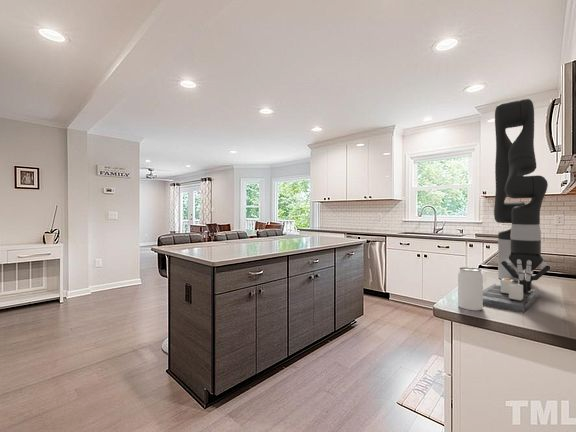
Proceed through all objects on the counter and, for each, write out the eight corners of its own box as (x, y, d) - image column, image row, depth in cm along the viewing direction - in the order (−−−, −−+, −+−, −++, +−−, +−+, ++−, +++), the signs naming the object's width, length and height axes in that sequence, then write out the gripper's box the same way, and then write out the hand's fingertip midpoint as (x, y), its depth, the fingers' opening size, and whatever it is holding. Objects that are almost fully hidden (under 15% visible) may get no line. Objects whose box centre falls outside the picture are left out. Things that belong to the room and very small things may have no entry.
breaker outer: (511, 296, 92) (511, 283, 92) (523, 298, 90) (523, 284, 90) (508, 298, 91) (508, 284, 90) (520, 300, 88) (521, 286, 88)
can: (486, 311, 86) (486, 271, 85) (462, 310, 87) (462, 270, 87) (477, 304, 92) (477, 267, 92) (454, 303, 93) (454, 266, 93)
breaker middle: (503, 290, 99) (503, 277, 99) (514, 292, 97) (513, 278, 97) (500, 292, 97) (500, 278, 97) (511, 294, 95) (511, 280, 95)
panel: (494, 288, 110) (494, 283, 110) (539, 296, 100) (539, 289, 100) (473, 302, 94) (473, 295, 94) (523, 313, 84) (523, 305, 84)
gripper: (554, 238, 91) (554, 293, 91) (503, 236, 101) (503, 286, 101) (551, 240, 86) (551, 298, 86) (497, 237, 96) (497, 290, 96)
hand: (525, 291), depth 93 cm, fingers closed
